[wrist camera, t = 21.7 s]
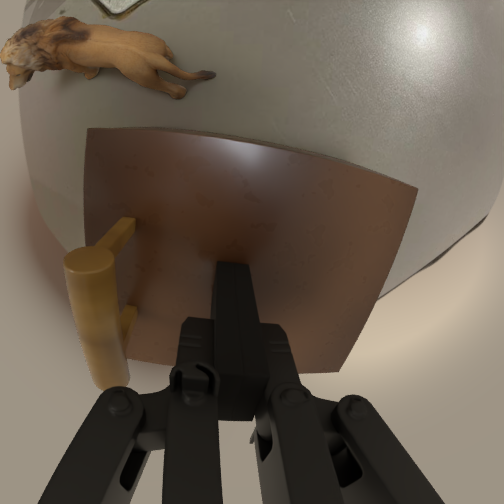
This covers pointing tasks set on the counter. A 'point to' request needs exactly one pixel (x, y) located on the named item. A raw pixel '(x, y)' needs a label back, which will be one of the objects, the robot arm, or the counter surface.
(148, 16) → the counter surface
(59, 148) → the counter surface
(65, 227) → the counter surface
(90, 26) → the lion figurine
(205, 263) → the chest lid
